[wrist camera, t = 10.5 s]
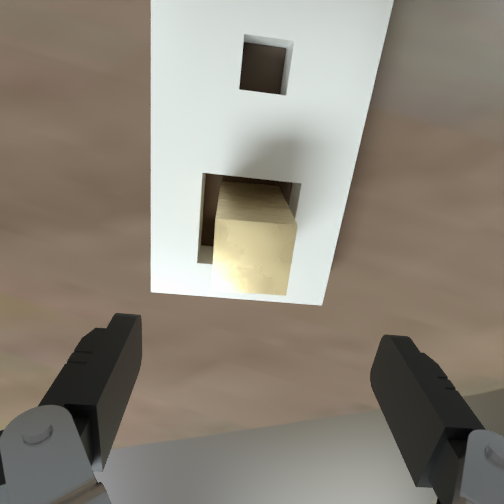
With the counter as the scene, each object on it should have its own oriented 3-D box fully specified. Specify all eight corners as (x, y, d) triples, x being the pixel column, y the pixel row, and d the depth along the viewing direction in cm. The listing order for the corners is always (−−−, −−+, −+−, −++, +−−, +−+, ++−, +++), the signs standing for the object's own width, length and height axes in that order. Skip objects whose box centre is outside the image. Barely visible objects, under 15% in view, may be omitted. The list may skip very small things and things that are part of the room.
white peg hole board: (380, -26, 19) (404, -46, 17) (313, 284, 28) (322, 305, 25) (163, -63, 18) (150, -90, 16) (159, 271, 27) (150, 291, 24)
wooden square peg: (278, 185, 24) (297, 225, 17) (271, 238, 26) (286, 295, 19) (221, 180, 24) (215, 218, 17) (217, 234, 26) (211, 290, 18)
